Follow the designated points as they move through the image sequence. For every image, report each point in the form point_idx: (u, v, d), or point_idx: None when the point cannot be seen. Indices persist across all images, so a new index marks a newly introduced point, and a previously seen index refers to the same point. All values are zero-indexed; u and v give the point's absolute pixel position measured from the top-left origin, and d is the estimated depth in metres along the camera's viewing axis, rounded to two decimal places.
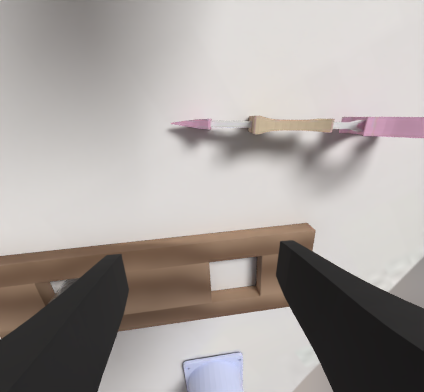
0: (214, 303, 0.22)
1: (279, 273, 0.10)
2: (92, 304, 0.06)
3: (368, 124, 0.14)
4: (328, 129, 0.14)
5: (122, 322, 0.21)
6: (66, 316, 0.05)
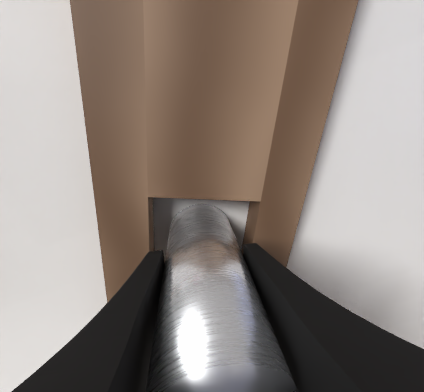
0: None
1: None
2: (149, 298, 0.06)
3: None
4: None
5: (285, 182, 0.10)
6: (136, 309, 0.05)
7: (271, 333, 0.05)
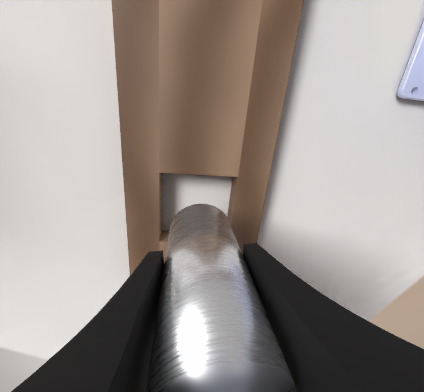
0: None
1: None
2: (149, 298, 0.06)
3: None
4: None
5: (254, 163, 0.14)
6: (135, 309, 0.05)
7: (271, 331, 0.05)
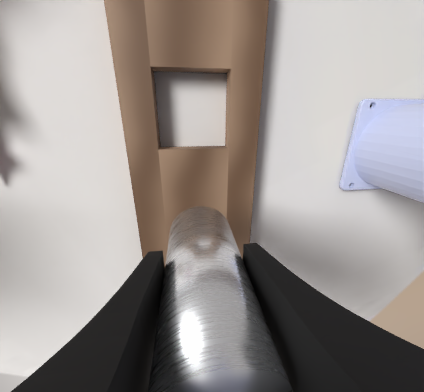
0: (230, 145, 0.16)
1: None
2: (149, 298, 0.06)
3: None
4: None
5: None
6: (135, 308, 0.05)
7: (268, 335, 0.06)
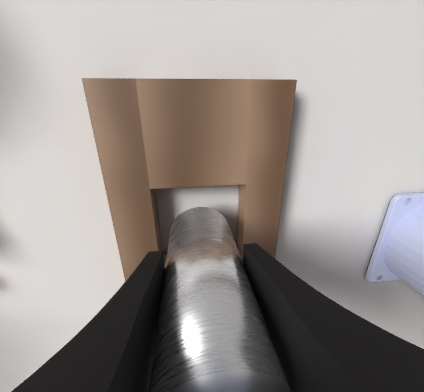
0: None
1: None
2: (149, 298, 0.06)
3: None
4: None
5: None
6: (135, 309, 0.05)
7: (267, 337, 0.06)
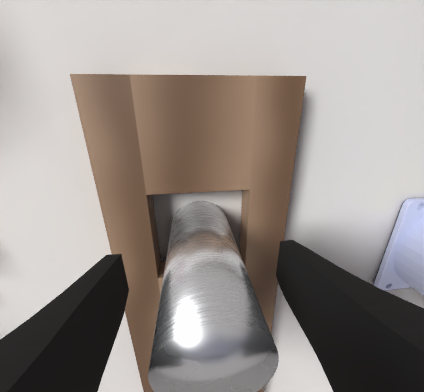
0: (247, 266, 0.13)
1: (279, 273, 0.10)
2: (92, 304, 0.06)
3: None
4: None
5: None
6: (66, 316, 0.05)
7: (257, 305, 0.06)
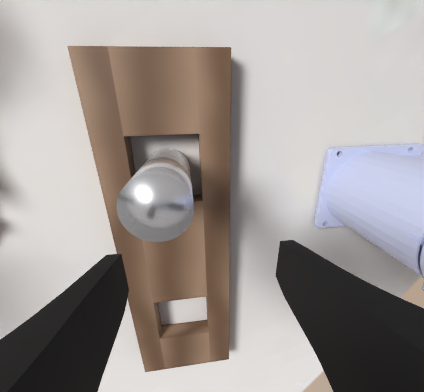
0: (204, 198, 0.17)
1: (279, 273, 0.10)
2: (92, 304, 0.06)
3: None
4: None
5: (217, 287, 0.20)
6: (66, 316, 0.05)
7: (185, 180, 0.10)
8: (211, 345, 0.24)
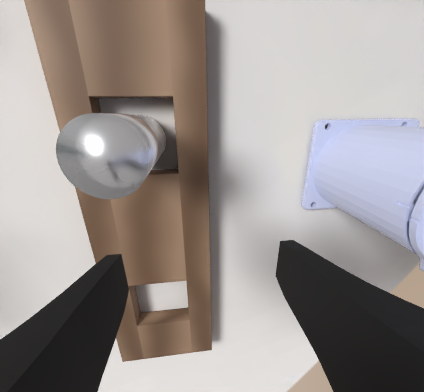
0: (180, 170, 0.16)
1: (279, 273, 0.10)
2: (92, 304, 0.06)
3: None
4: None
5: (197, 270, 0.19)
6: (66, 316, 0.05)
7: (141, 130, 0.09)
8: (193, 334, 0.22)
